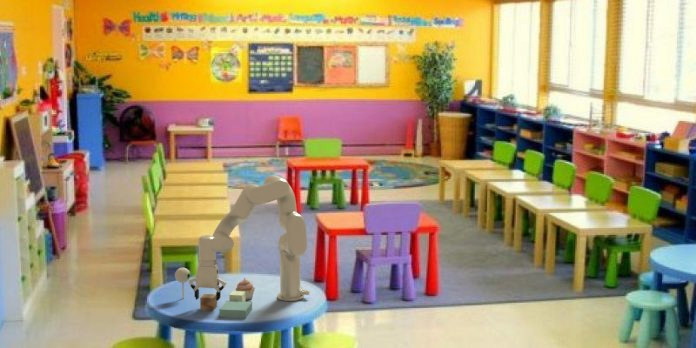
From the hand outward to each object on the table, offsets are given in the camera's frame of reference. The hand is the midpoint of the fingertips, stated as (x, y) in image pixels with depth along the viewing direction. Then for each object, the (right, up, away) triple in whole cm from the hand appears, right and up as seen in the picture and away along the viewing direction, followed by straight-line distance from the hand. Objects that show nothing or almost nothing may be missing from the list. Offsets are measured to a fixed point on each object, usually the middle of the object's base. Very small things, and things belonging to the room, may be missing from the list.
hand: (207, 299), depth 403 cm
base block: (+14, -6, -5) cm, 16 cm away
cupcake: (+15, -2, +16) cm, 22 cm away
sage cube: (+13, -4, +5) cm, 15 cm away
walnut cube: (0, -4, +1) cm, 5 cm away
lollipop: (-14, -2, +16) cm, 21 cm away
